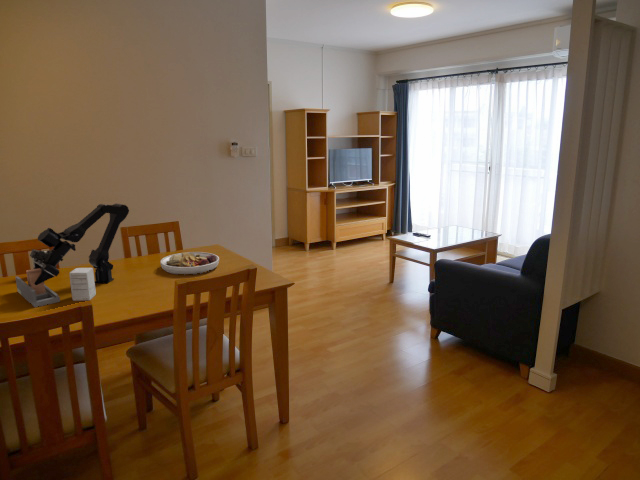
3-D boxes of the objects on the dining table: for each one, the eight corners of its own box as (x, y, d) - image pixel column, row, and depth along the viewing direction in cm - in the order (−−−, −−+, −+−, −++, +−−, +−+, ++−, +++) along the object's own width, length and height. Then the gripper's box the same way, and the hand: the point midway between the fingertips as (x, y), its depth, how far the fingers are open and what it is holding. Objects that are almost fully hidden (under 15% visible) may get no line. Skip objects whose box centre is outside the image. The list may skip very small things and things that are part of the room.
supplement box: (79, 294, 204) (76, 267, 201) (96, 294, 205) (93, 267, 202) (71, 300, 197) (68, 272, 194) (89, 300, 197) (86, 272, 194)
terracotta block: (29, 292, 200) (26, 270, 198) (42, 289, 204) (39, 268, 201) (32, 295, 197) (29, 273, 194) (45, 292, 200) (42, 270, 198)
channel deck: (17, 291, 207) (15, 276, 205) (41, 286, 213) (39, 272, 212) (34, 307, 189) (32, 291, 187) (60, 301, 196) (58, 286, 194)
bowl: (150, 275, 233) (149, 260, 232) (175, 259, 262) (174, 245, 261) (207, 278, 230) (207, 263, 228) (226, 261, 259) (226, 248, 257)
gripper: (36, 238, 204) (10, 267, 199) (47, 246, 191) (20, 277, 186) (57, 252, 211) (33, 280, 207) (70, 261, 198) (44, 291, 193)
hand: (32, 282), depth 198 cm, fingers open, 9 cm apart
